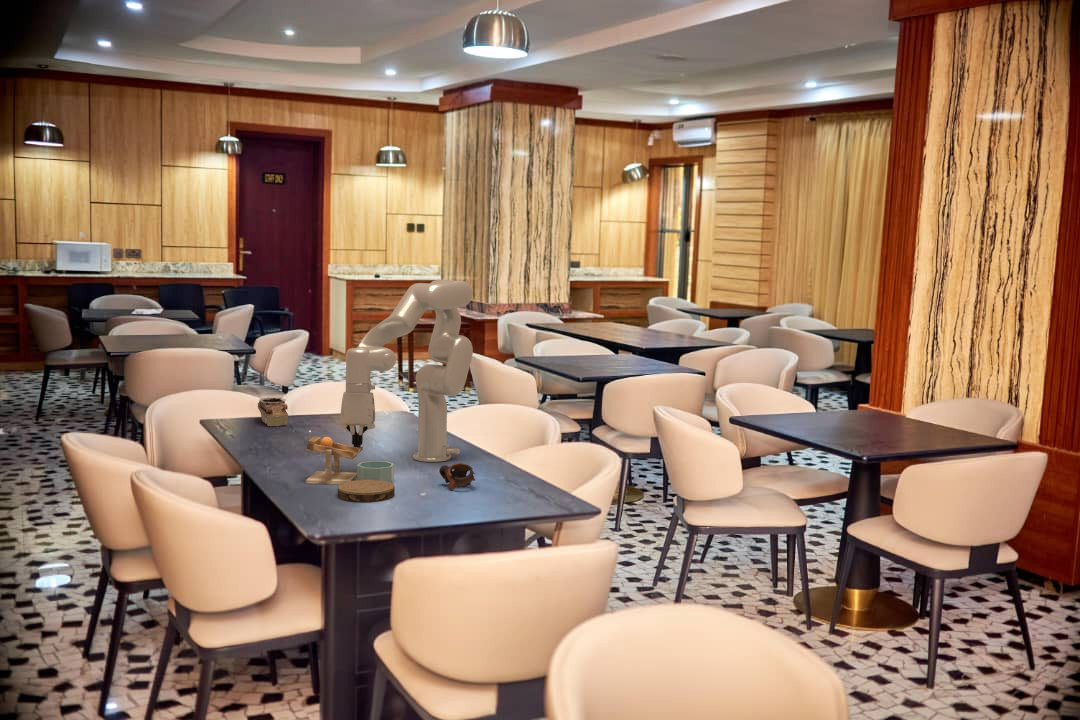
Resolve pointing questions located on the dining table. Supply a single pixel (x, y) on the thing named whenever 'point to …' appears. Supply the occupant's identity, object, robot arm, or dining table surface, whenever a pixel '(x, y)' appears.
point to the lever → (333, 448)
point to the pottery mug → (457, 475)
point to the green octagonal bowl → (375, 471)
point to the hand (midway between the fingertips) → (357, 446)
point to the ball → (327, 442)
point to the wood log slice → (366, 491)
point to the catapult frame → (330, 476)
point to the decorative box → (273, 411)
